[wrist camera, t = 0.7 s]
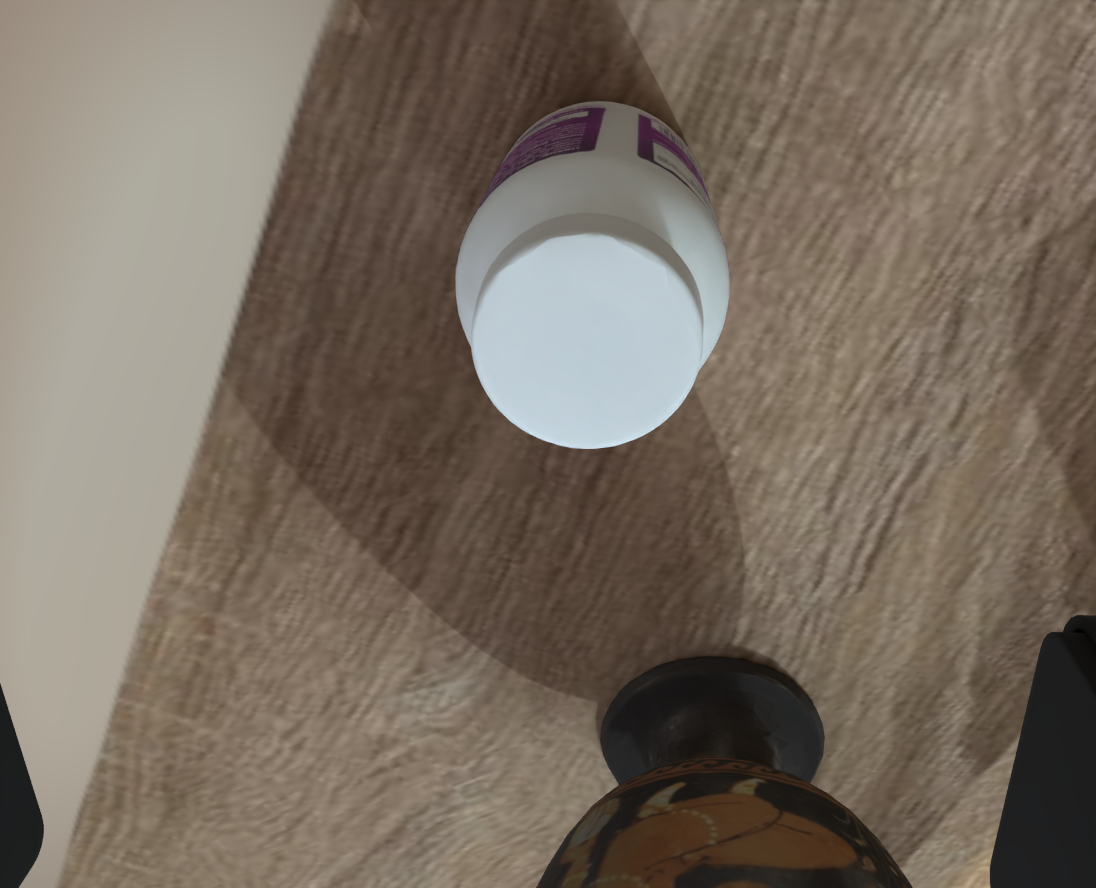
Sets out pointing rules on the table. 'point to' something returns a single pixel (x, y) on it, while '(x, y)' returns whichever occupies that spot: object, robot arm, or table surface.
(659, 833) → the vase
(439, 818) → the table surface
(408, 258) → the table surface
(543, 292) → the pill bottle
